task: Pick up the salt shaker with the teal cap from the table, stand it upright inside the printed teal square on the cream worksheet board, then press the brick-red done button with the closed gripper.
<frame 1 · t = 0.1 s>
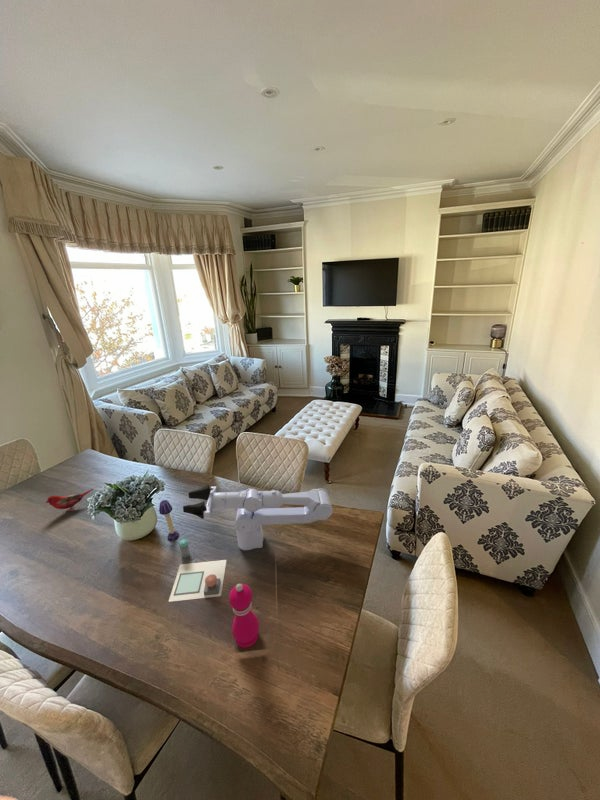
hand: (186, 501, 113), 22 cm above the table, tool horizontal, fingers open, 7 cm apart
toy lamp: (172, 537, 127), on the table
worksheet board: (199, 581, 107), on the table
pepper mill: (247, 638, 90), on the table
decorative bird figurine: (75, 508, 147), on the table
salt shaker: (186, 557, 117), on the table
done button: (211, 582, 103), point 4 cm above the table, slide at 0.0 cm
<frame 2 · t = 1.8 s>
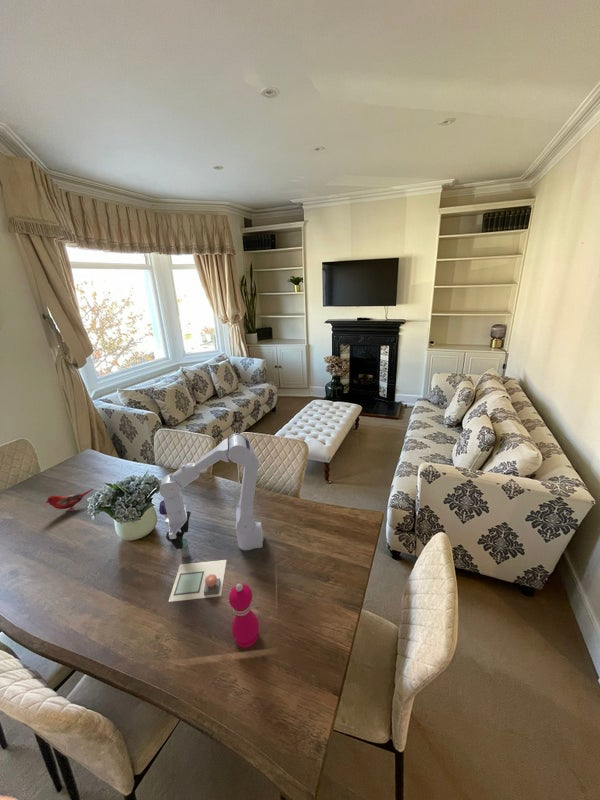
hand: (182, 539, 114), 8 cm above the table, tool pointing down, fingers open, 7 cm apart
nothing on the table moved.
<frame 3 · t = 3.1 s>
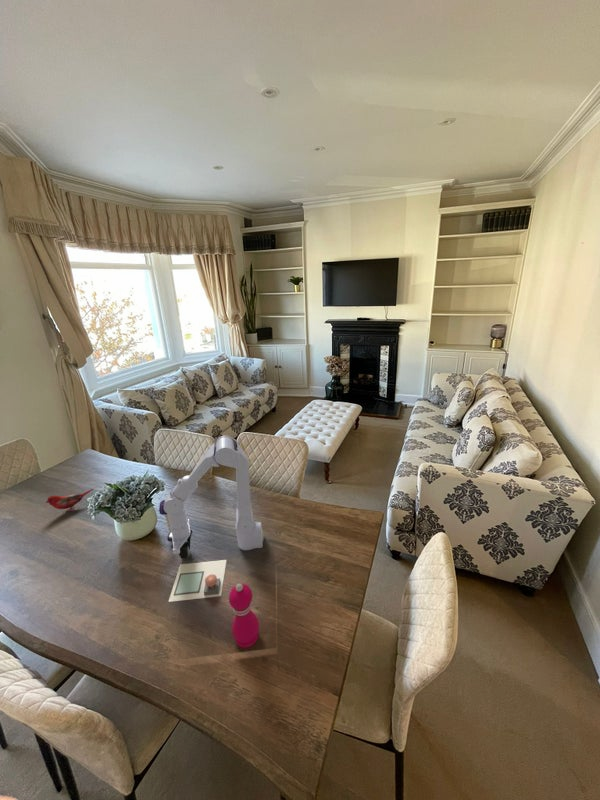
hand: (185, 553, 117), 2 cm above the table, tool pointing down, fingers closed on salt shaker, 3 cm apart
salt shaker: (186, 557, 117), on the table, touching gripper
everything else where it was.
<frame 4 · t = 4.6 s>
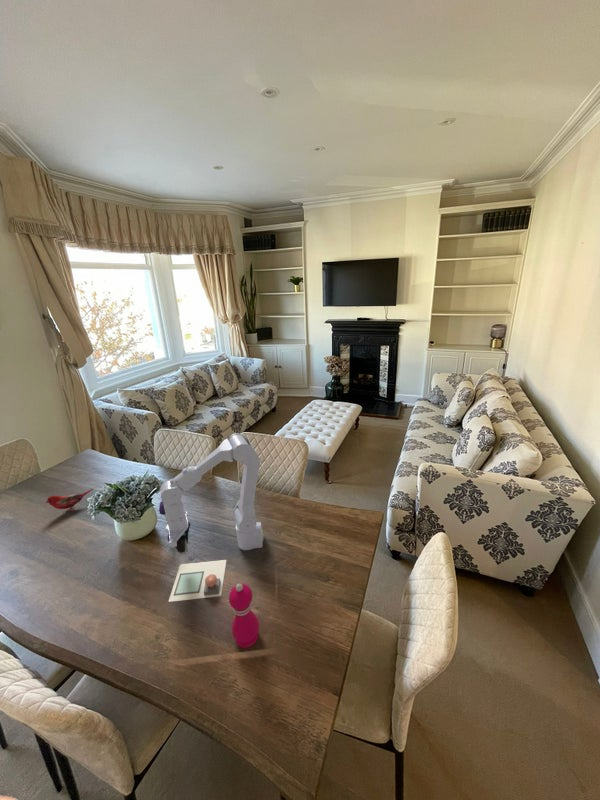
hand: (183, 547, 110), 9 cm above the table, tool pointing down, fingers closed on salt shaker, 3 cm apart
salt shaker: (184, 551, 111), point 7 cm above the table, touching gripper
everything else where it was.
when the fingers open (4 cm above the table, at t = 6.2 s): salt shaker drops 1 cm, resting on worksheet board.
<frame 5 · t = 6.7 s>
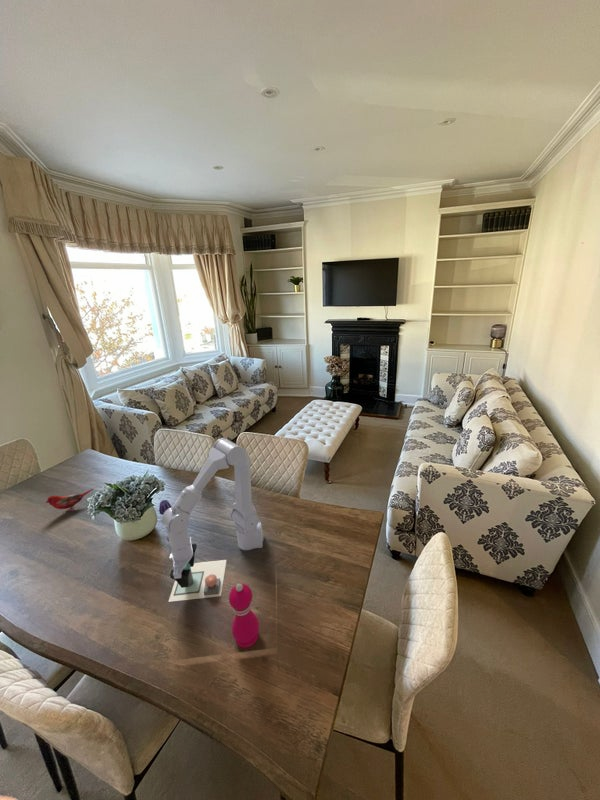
hand: (187, 575, 105), 4 cm above the table, tool pointing down, fingers open, 7 cm apart
salt shaker: (189, 582, 106), point 1 cm above the table, touching worksheet board
everything else where it was.
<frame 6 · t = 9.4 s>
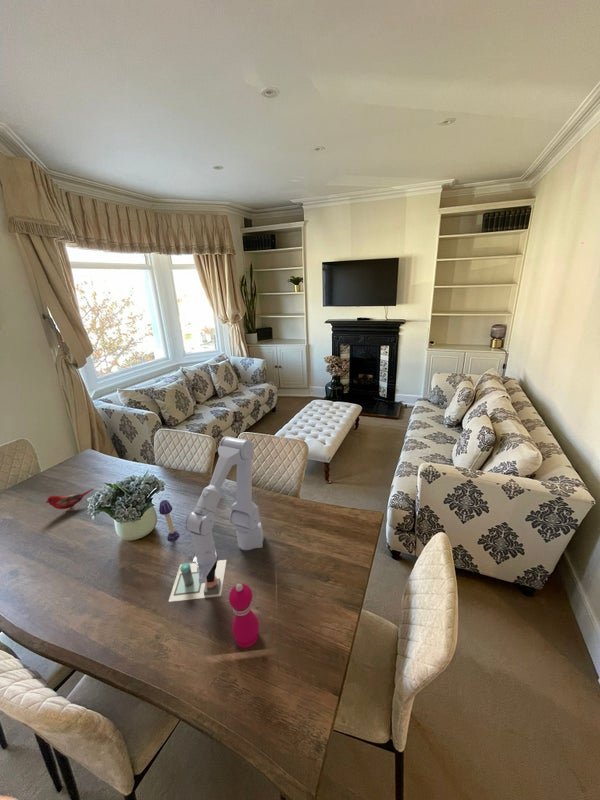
hand: (210, 580, 102), 5 cm above the table, tool pointing down, fingers closed, pressing on done button
done button: (211, 583, 103), point 3 cm above the table, slide at 0.4 cm, touching gripper
everything else where it was.
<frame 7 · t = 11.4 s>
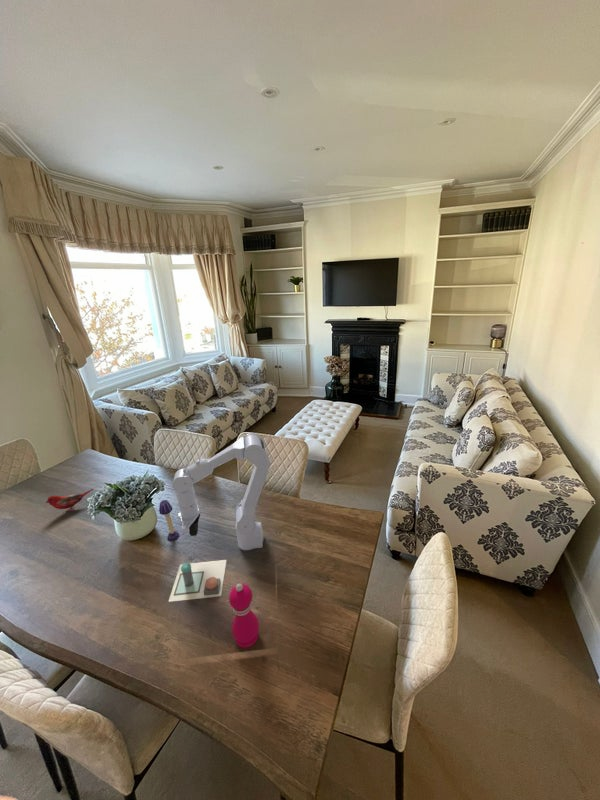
hand: (194, 534, 115), 9 cm above the table, tool pointing down, fingers closed
done button: (211, 585, 103), point 3 cm above the table, slide at 1.1 cm
everything else where it was.
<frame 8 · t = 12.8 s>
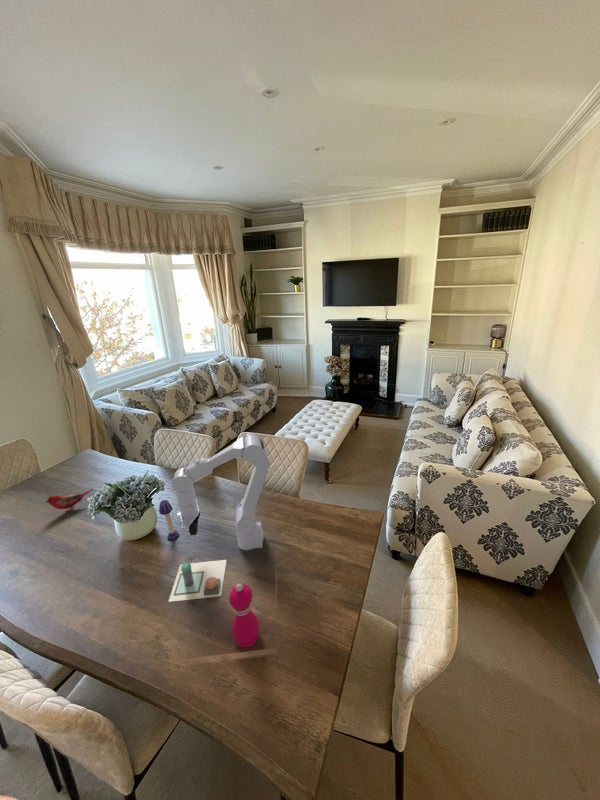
hand: (194, 533, 115), 9 cm above the table, tool pointing down, fingers closed
nothing on the table moved.
at the end: salt shaker 0.1 cm from the target spot on the worksheet board, point 1.1 cm above the worksheet board's base; salt shaker tilted 1°; done button slide at 1.1 cm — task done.
